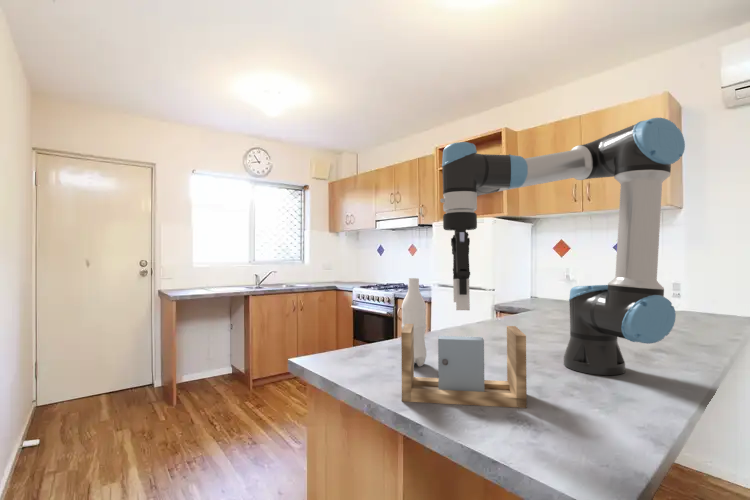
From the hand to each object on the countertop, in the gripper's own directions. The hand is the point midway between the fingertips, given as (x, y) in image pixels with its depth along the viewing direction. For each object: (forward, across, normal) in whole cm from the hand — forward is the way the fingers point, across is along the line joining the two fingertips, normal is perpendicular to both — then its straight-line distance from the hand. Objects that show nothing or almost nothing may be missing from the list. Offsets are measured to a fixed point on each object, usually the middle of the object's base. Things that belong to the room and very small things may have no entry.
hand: (460, 306), depth 89 cm
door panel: (+19, 0, 0) cm, 19 cm away
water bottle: (+20, -23, -12) cm, 33 cm away
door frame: (+20, 0, 0) cm, 20 cm away
